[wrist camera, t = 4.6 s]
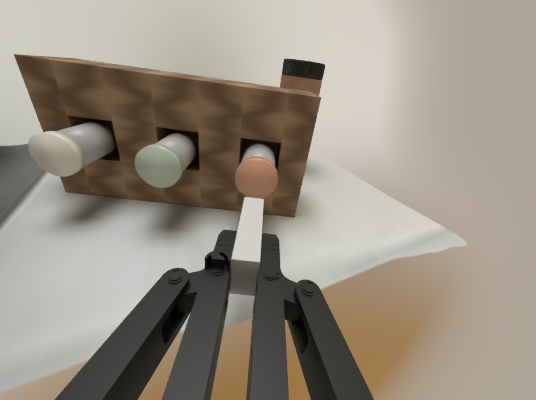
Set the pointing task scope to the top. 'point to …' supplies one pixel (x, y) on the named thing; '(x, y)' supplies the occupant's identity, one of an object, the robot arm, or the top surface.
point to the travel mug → (302, 75)
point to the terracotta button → (257, 171)
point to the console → (174, 128)
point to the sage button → (166, 159)
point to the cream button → (72, 147)
